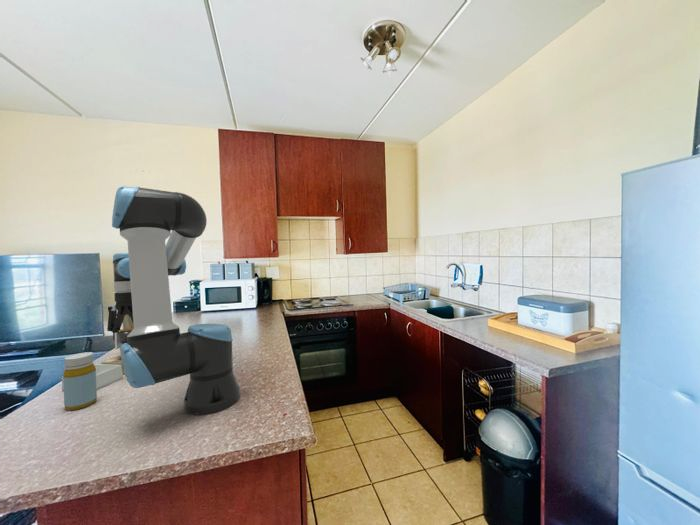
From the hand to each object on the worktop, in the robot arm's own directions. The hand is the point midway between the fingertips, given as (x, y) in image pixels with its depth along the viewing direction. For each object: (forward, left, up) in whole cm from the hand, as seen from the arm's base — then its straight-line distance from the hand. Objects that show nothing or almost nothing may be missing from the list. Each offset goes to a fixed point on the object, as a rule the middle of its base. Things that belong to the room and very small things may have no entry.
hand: (128, 347), depth 112 cm
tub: (-15, -2, -8) cm, 17 cm away
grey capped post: (0, 0, -8) cm, 8 cm away
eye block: (0, 0, -8) cm, 8 cm away
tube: (+14, +11, -8) cm, 20 cm away
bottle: (-27, -13, -8) cm, 31 cm away
